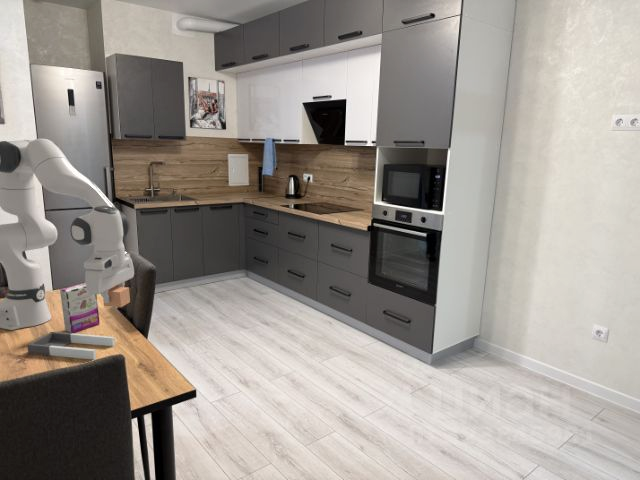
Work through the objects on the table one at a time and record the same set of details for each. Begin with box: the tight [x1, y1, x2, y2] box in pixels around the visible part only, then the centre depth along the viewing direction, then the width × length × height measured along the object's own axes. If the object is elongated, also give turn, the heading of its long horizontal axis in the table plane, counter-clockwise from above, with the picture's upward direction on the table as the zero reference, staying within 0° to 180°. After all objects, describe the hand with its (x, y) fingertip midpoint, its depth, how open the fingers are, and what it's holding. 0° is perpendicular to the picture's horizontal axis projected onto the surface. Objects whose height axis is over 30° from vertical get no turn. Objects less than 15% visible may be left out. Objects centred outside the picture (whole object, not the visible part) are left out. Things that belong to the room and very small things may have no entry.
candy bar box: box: [59, 282, 101, 334], centre depth 168 cm, size 11×5×16 cm, turn 148°
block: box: [103, 286, 131, 308], centre depth 145 cm, size 6×5×5 cm
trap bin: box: [26, 331, 72, 356], centre depth 153 cm, size 8×11×3 cm
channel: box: [49, 333, 116, 360], centre depth 151 cm, size 16×11×3 cm
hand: (113, 299), depth 145 cm, fingers closed on block, 5 cm apart
